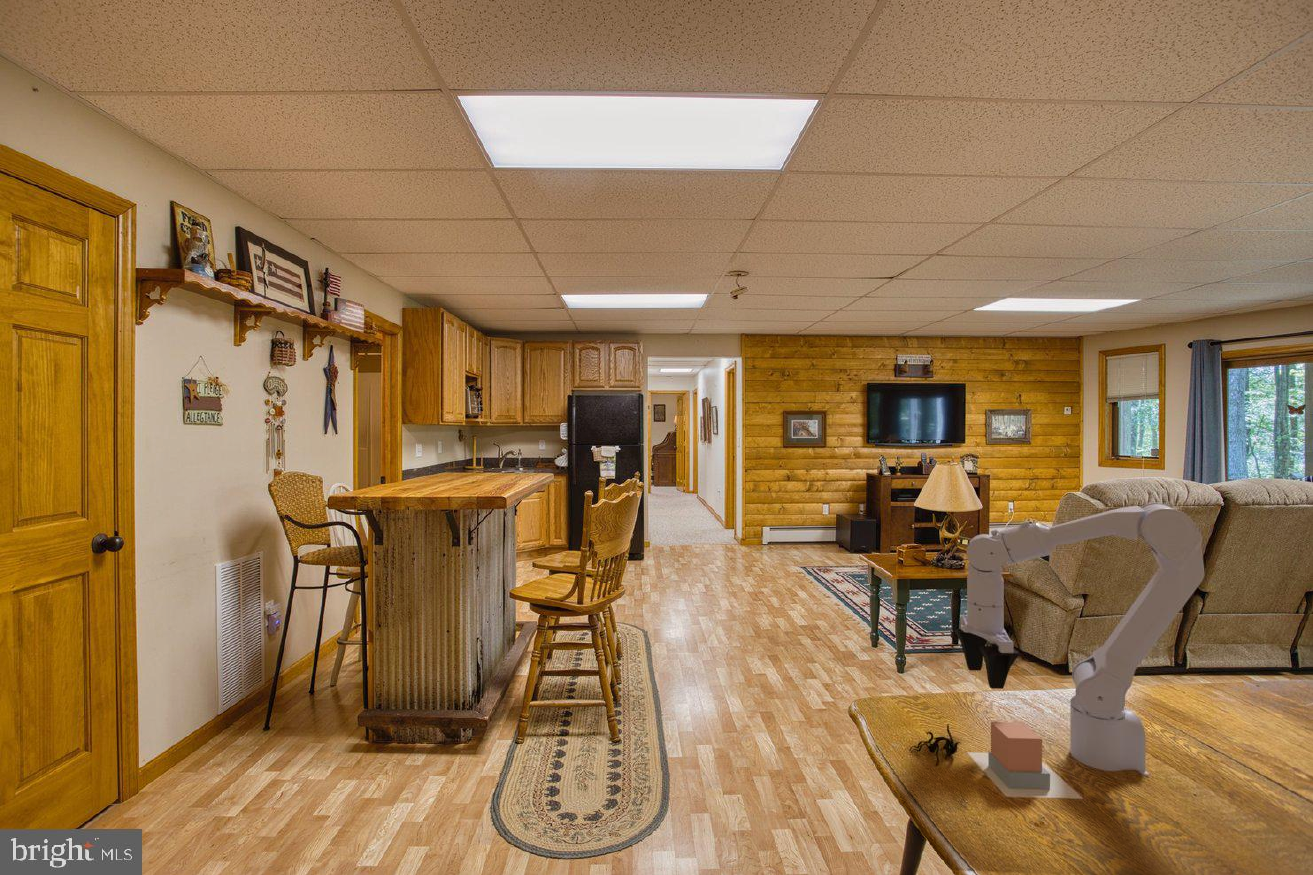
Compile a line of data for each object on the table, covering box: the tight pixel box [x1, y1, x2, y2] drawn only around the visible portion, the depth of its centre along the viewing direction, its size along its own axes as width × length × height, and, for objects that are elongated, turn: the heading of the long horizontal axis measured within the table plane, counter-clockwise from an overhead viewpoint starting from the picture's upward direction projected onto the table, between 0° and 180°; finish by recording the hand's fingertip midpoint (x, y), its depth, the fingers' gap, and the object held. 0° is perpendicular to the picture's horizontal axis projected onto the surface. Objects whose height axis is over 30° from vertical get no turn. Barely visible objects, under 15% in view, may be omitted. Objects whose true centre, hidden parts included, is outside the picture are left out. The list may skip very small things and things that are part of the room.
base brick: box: [987, 750, 1050, 790], centre depth 91 cm, size 6×6×2 cm
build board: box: [966, 751, 1084, 800], centre depth 92 cm, size 11×12×1 cm
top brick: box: [990, 721, 1043, 772], centre depth 91 cm, size 5×5×5 cm
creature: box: [909, 723, 961, 767], centre depth 98 cm, size 8×5×8 cm
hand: (985, 678), depth 105 cm, fingers open, 7 cm apart
